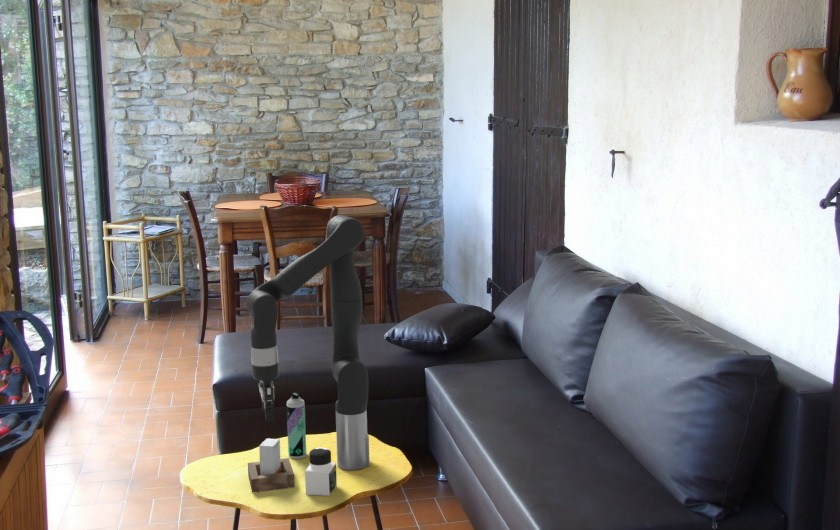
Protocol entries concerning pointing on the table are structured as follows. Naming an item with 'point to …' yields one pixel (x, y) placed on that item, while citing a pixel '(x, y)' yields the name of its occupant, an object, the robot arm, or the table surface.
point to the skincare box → (270, 457)
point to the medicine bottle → (320, 473)
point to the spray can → (296, 427)
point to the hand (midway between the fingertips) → (268, 415)
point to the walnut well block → (271, 477)
